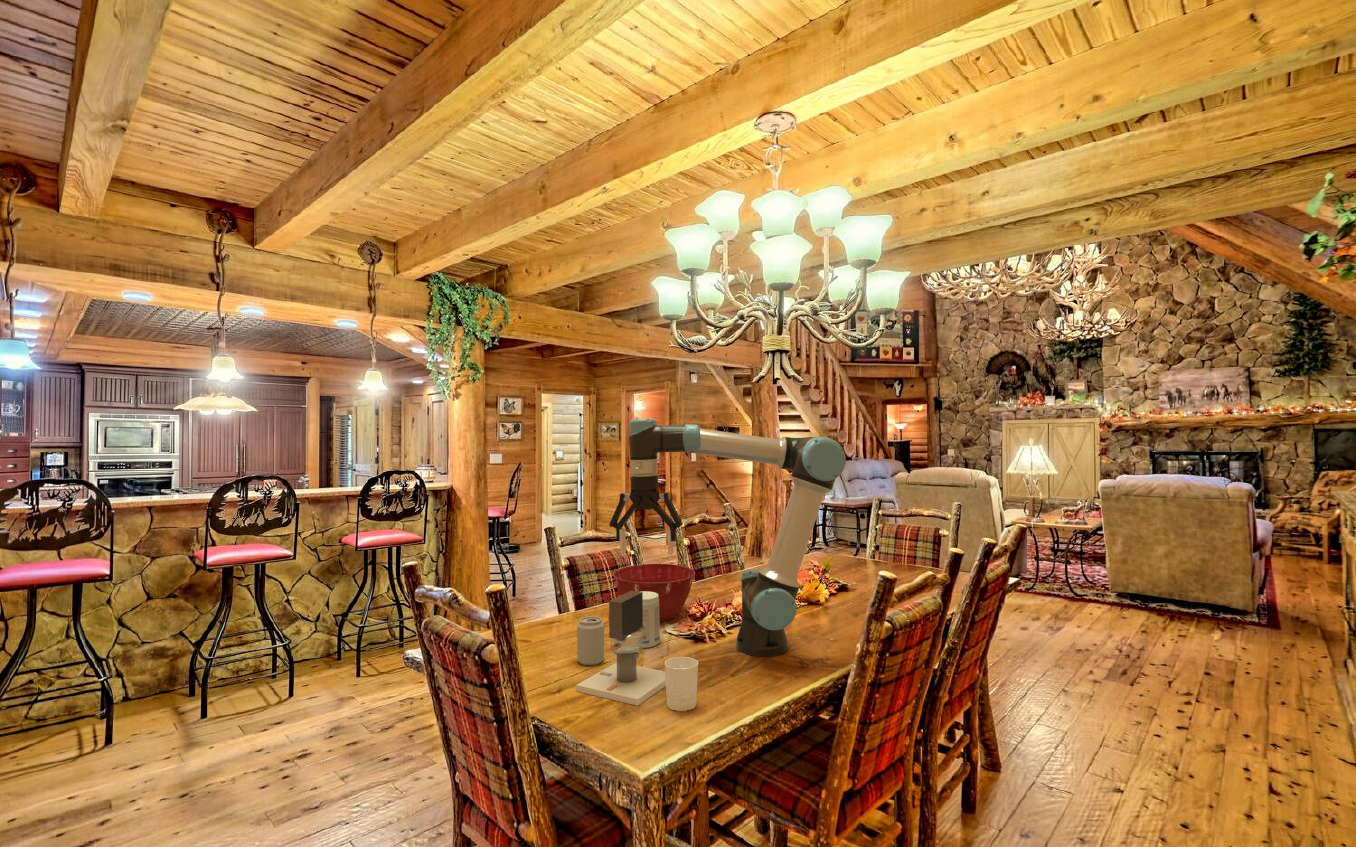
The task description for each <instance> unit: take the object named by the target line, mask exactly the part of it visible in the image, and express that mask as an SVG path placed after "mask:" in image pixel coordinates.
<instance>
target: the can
mask: <svg viewBox="0 0 1356 847" xmlns="http://www.w3.org/2000/svg"><path fill="white" fill-rule="evenodd" d="M602 620H603V619H602V617H600V616H595V615H594V616H592V615H590V616H584V617H581V618H580V619H579V622H578V623H577V625H576V627H577V628H576V630H577V632H576V638H577V639H576V641H577V642H576V644H577V645H576V648H577V651H576V653H577V654H576V655H577V656H576V658H577V659H576V660H577V662H579V663H580V665H582V664H583V665H582V666H586V665H588V666H589V667H591V666H590V665H593V666H597V665H599V664H601V663H602V662H603V661H604V660H605V623H604V622H603V621H602Z"/></svg>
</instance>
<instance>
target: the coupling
mask: <svg viewBox="0 0 1356 847" xmlns="http://www.w3.org/2000/svg"><path fill="white" fill-rule="evenodd" d="M608 609H609V610H608V611H609V612H608V623H609V626H608V628H609V629H608V632H609V633H608V634H609V636H608V637H609V639H610V650H611V651H612V652H613V653H614V652H616V653H622V654H628V653H635V652H637V653H639V652H640V651H641V650H643V648H642V630H640V628H642V627H643V592H636V591H629V592H627V593H625V594H623V595H621V596H620V595H619V596H617V597H614V598H612V599H610V600H609V601H608Z"/></svg>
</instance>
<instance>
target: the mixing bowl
mask: <svg viewBox="0 0 1356 847" xmlns="http://www.w3.org/2000/svg"><path fill="white" fill-rule="evenodd" d="M612 574H613V578H614V581H615V585H616V588H617V591H618V594H619V596H621V595H623V594H625V593H627V592H629V591H636V592H642V591H648V592H655V593H657V594H658V595H659V619H660V622H664V621H668V620H669V621H670V620H671V619H673V618H674V617H675V616H677V615H678V614H679V613H681V611H682V610H683V607H684V606H685V604H686V602H687V599H688V597H689V596H690V595H689V594H690V591H691V588H692V585H693V582H694V576H695V575H696V572H695V570H694V569H692V568H691V567H688V566H684V565H679V564H670V563H643V564H642V563H641V564H634V565H628V566H624V567H621V568H619V569H617V570H615V571H614V572H613V573H612Z"/></svg>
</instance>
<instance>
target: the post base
mask: <svg viewBox="0 0 1356 847" xmlns="http://www.w3.org/2000/svg"><path fill="white" fill-rule="evenodd" d="M613 654H614V655H616V662H614V663H613V664H611V665H609V666H607V667H606V668H604V669H602V670H600V671H599V672H597V673H595V674H593V675H592V676H589V677H588V678H586V679H584V680H582V681H581V682H579V683H577V684H575V685H576V686H575V688H576V689H575V692H578V693H582V694H586V695H591V696H595V697H599V698H603V699H608V700H613V701H616V702H620V703H625V704H629V705H633V706H636V707H638V706H640V705H641V704H642V703H644V702H646V701H647V700H648V699H649V698H651V697H652V696H654V695H655V694H656V693H658V692H659V691H661V690H662V689H664V688H666V683H665V670H661V669H655V668H650V667H644V666H640V665H638V664H637V662H638V660H637V659H638V658H640V652H635V653H628V654H622V653H616V652H613Z"/></svg>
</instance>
